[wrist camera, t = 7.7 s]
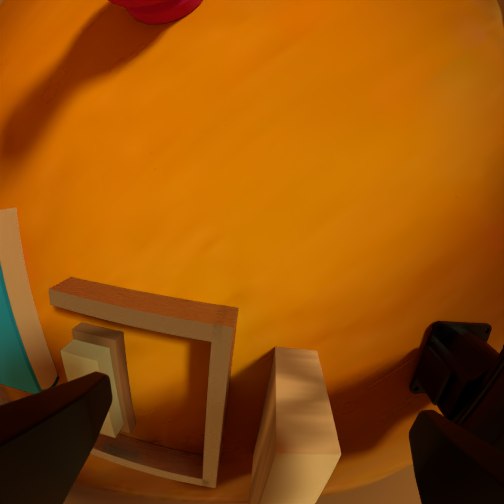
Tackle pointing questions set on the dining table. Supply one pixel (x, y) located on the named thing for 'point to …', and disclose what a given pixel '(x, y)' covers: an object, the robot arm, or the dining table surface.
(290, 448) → the sheet
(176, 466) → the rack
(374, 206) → the dining table surface
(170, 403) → the dining table surface
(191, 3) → the pepper mill
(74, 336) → the offcut low
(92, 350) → the offcut top
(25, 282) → the book
